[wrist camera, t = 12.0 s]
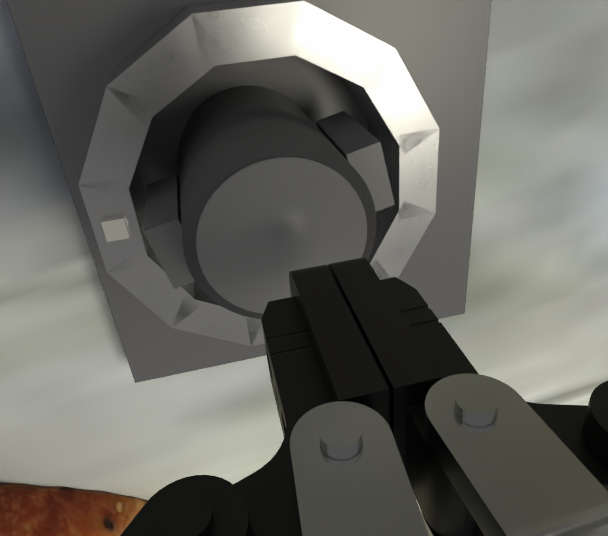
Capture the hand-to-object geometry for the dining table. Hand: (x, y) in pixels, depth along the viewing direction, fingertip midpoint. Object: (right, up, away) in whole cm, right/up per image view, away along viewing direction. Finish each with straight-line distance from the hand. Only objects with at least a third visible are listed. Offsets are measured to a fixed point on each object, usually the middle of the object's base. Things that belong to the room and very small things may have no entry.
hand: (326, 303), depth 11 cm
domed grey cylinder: (-2, +4, +7) cm, 8 cm away
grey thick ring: (-2, +4, +7) cm, 8 cm away
